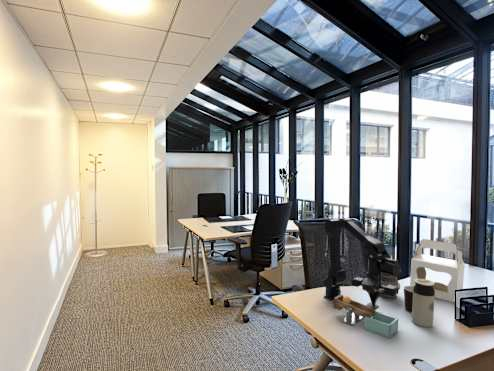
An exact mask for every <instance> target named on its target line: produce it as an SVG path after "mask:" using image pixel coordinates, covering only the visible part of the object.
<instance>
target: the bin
mask: <svg viewBox="0 0 494 371" xmlns="http://www.w3.org/2000/svg"><path fill="white" fill-rule="evenodd" d="M364 330H366V331H369V332H372V333H375V334H377V335H379V336H382V337H385V338H388V339H391V338H392V337H393V336H394V335H396V333H397V332H398V330H399V318H397V317H394V316H391V315H388V314H386V313H382V312H379V311H376V310H375V315H374V316H373V317H371V318H369V317H365V318H364Z"/></svg>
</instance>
